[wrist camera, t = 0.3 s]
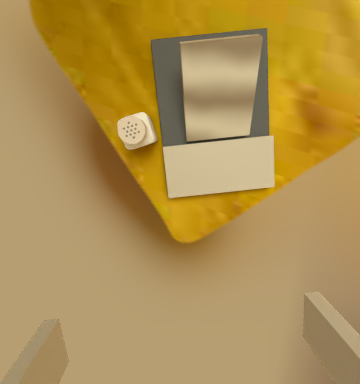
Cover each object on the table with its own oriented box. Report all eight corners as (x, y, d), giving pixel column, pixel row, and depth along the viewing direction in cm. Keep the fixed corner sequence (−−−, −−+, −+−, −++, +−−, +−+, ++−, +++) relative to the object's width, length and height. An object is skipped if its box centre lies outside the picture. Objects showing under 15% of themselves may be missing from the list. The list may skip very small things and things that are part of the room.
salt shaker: (158, 141, 37) (154, 141, 27) (133, 149, 37) (121, 152, 28) (149, 115, 36) (142, 106, 26) (124, 123, 36) (108, 118, 27)
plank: (179, 41, 27) (180, 45, 26) (258, 33, 27) (263, 36, 26) (185, 136, 35) (186, 141, 34) (246, 129, 35) (249, 135, 34)
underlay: (151, 42, 34) (149, 34, 31) (264, 31, 34) (271, 22, 31) (168, 194, 38) (168, 198, 36) (267, 183, 39) (274, 186, 36)
